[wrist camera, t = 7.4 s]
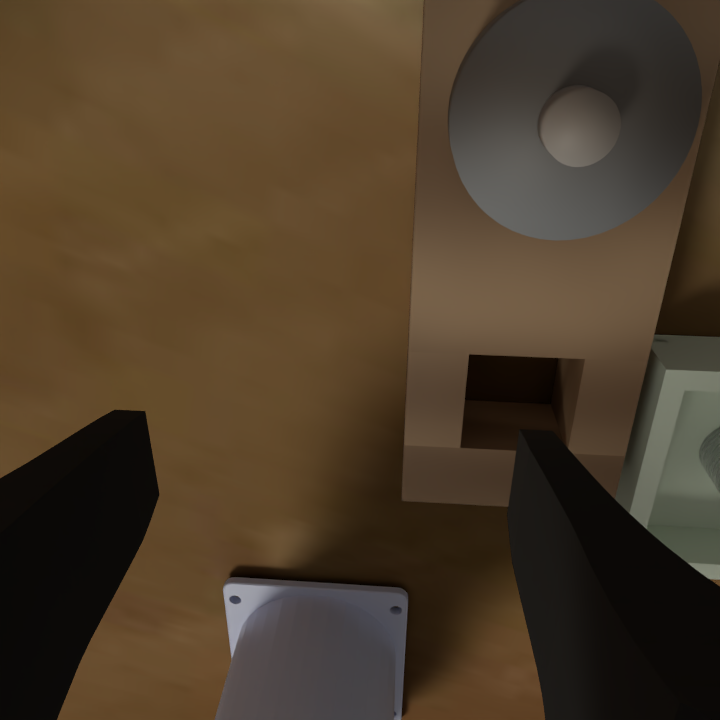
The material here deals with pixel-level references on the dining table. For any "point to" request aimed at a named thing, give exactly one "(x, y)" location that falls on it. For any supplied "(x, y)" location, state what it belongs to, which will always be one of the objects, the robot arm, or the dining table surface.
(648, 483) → the tray
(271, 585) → the robot arm
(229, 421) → the dining table surface
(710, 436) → the lock pin
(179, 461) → the dining table surface
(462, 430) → the block
